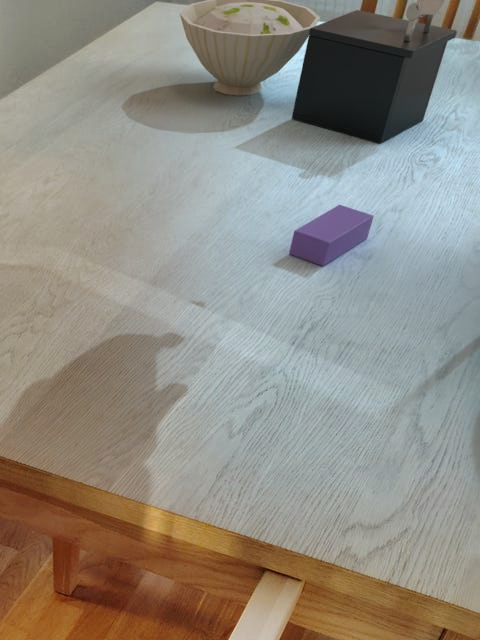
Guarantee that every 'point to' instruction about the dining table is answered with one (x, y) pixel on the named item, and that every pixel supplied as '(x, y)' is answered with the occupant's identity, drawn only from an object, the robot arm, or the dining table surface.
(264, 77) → the bowl
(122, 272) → the dining table surface
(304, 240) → the purple rectangular block
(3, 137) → the dining table surface
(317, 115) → the bin
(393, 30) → the bin lid
